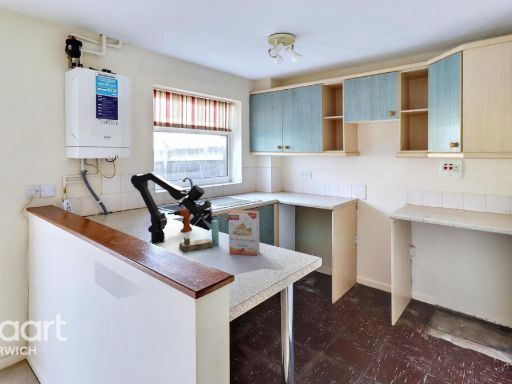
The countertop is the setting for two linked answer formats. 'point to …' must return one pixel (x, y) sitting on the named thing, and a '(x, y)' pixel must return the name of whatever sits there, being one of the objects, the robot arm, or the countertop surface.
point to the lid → (194, 242)
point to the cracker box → (243, 232)
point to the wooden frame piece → (195, 247)
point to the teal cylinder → (215, 232)
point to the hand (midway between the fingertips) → (212, 227)
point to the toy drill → (184, 219)
